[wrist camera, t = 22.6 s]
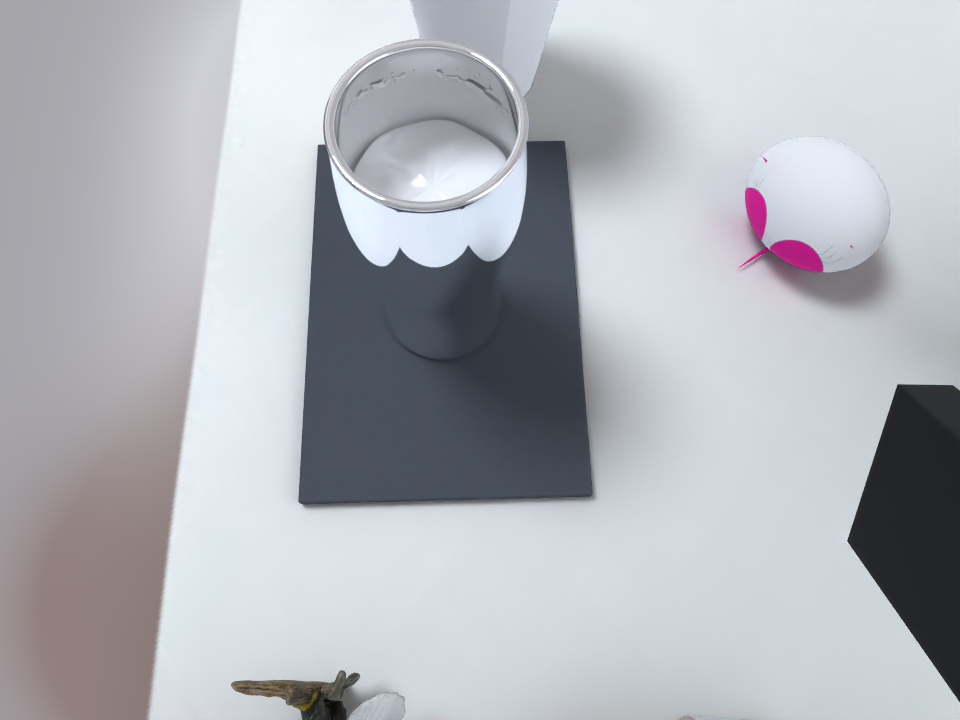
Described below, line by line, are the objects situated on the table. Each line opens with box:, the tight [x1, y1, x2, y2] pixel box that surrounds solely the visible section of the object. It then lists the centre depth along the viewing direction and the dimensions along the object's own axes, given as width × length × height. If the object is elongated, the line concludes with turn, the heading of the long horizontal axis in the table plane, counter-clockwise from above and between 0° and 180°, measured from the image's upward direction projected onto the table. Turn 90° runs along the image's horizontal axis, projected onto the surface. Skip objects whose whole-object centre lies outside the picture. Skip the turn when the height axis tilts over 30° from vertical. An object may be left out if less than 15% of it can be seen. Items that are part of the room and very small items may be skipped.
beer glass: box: [323, 39, 529, 360], centre depth 29 cm, size 7×7×15 cm
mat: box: [299, 141, 593, 504], centre depth 37 cm, size 20×14×1 cm
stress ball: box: [737, 136, 890, 273], centre depth 37 cm, size 8×8×7 cm
